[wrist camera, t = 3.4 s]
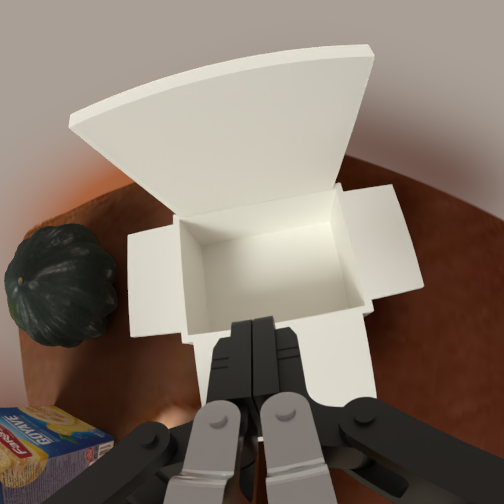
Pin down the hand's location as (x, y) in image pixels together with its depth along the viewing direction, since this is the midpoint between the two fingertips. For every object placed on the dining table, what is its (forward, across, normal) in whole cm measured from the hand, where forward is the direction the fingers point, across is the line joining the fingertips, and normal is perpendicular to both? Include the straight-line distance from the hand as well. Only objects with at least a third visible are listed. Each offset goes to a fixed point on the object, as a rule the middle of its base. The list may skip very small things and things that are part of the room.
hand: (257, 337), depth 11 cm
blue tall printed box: (+8, +28, +23) cm, 37 cm away
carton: (+17, 0, +13) cm, 22 cm away
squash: (+22, +24, +9) cm, 34 cm away
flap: (+19, 0, 0) cm, 19 cm away
